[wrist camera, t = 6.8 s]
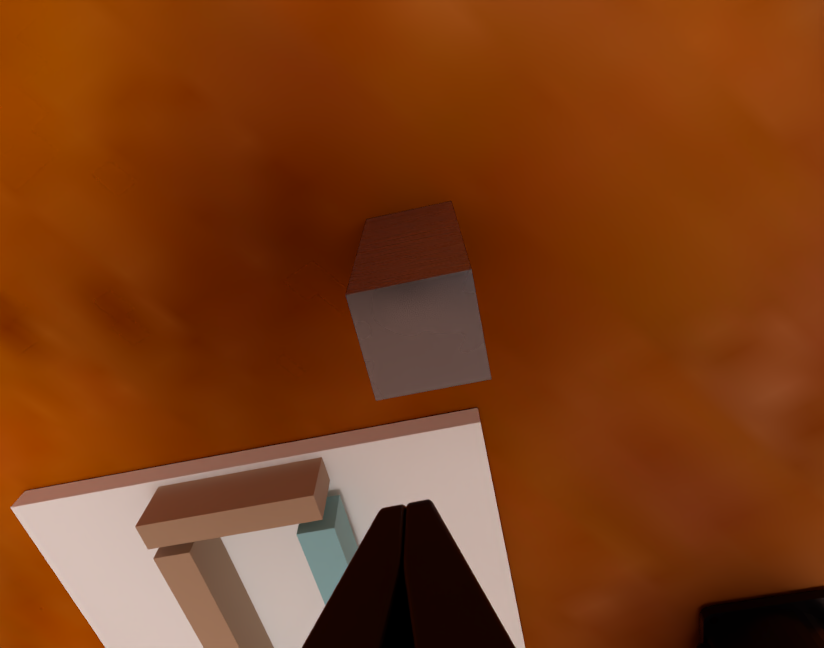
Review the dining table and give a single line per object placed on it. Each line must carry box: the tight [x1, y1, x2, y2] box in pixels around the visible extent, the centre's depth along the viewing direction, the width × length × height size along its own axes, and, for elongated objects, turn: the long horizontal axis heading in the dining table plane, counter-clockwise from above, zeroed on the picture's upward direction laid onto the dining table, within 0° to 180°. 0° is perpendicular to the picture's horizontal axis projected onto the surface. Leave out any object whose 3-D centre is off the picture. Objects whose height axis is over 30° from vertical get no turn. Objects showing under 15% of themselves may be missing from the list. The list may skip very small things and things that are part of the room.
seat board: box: [10, 408, 525, 648], centre depth 25 cm, size 20×14×3 cm
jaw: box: [296, 495, 358, 605], centre depth 24 cm, size 2×10×2 cm, turn 12°
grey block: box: [346, 201, 491, 401], centre depth 17 cm, size 3×3×7 cm
